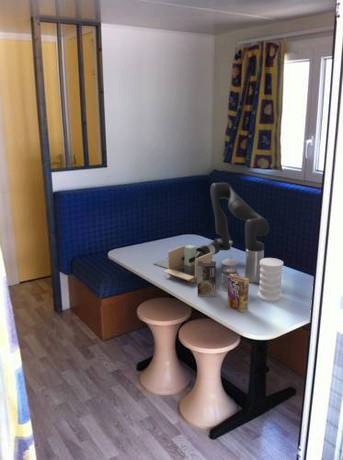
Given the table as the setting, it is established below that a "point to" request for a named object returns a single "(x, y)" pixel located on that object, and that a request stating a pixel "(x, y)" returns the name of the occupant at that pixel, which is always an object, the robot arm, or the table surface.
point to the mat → (162, 263)
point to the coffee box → (206, 278)
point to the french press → (228, 271)
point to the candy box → (238, 292)
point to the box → (188, 253)
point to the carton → (177, 263)
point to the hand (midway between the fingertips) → (185, 259)
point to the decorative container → (270, 280)
